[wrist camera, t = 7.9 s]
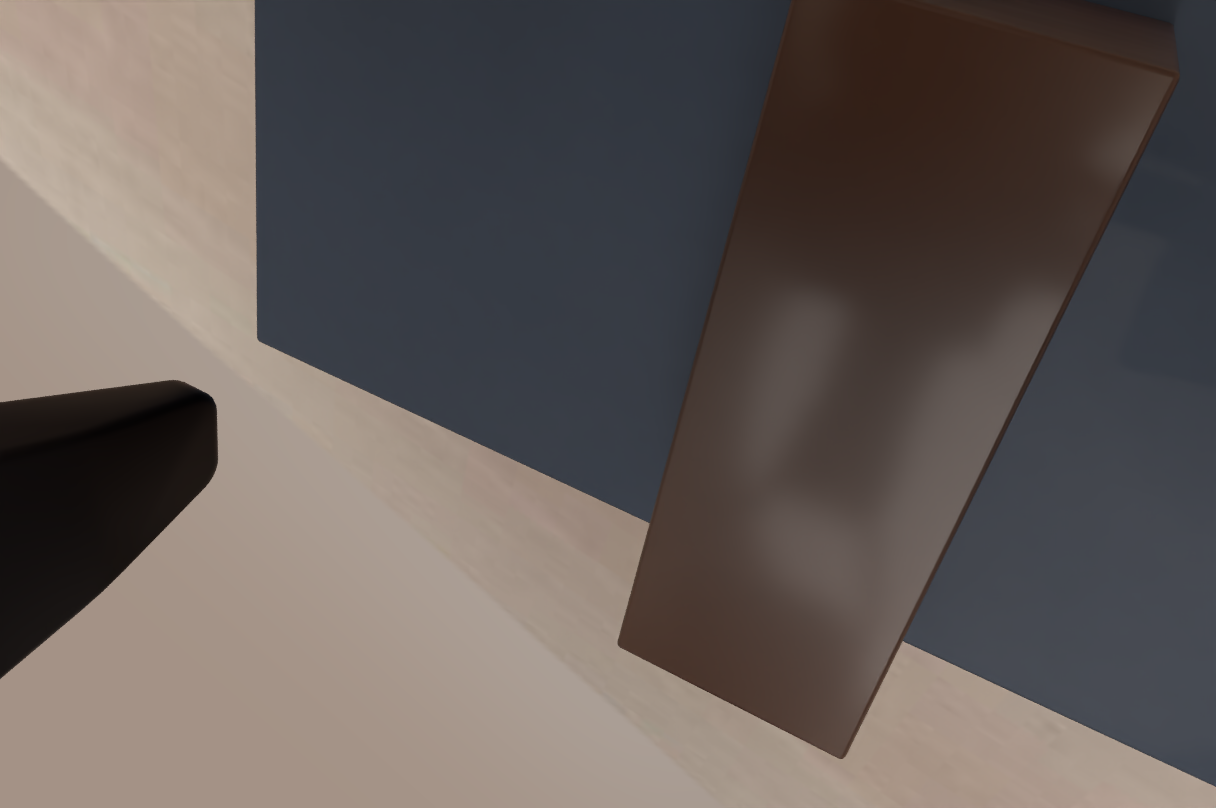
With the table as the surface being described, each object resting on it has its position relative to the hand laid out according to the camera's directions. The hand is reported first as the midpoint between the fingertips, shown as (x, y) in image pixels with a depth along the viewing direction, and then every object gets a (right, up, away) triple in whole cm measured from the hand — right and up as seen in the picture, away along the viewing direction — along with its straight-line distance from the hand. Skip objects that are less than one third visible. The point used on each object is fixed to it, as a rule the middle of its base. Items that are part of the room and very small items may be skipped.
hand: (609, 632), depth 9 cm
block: (+3, +3, +4) cm, 6 cm away
